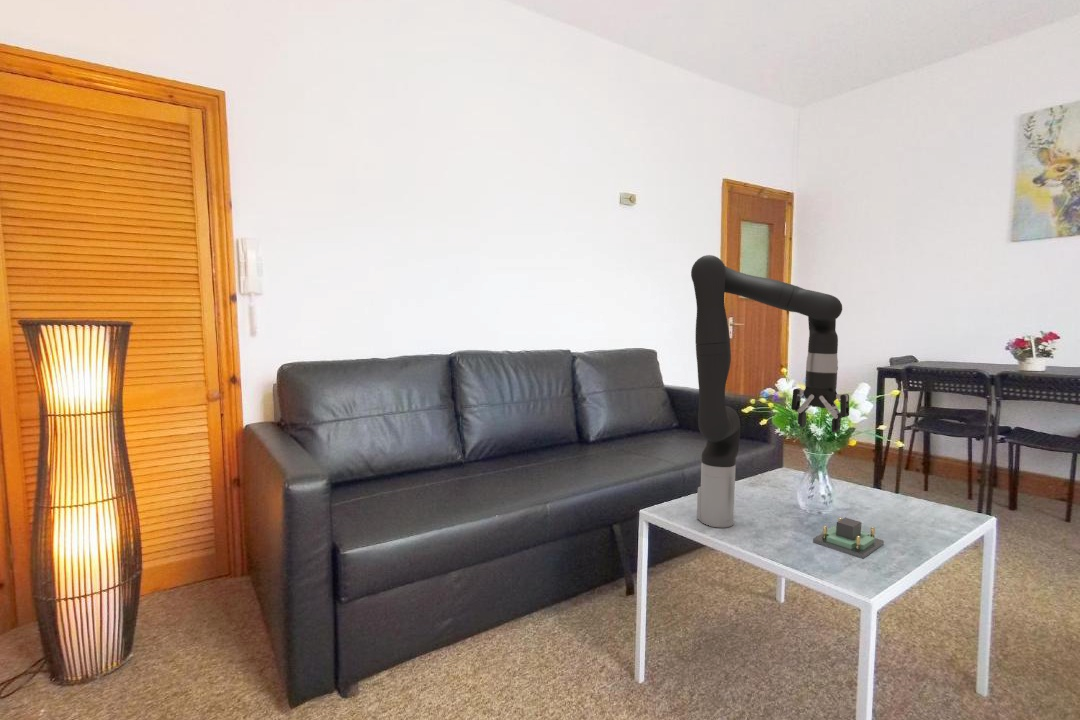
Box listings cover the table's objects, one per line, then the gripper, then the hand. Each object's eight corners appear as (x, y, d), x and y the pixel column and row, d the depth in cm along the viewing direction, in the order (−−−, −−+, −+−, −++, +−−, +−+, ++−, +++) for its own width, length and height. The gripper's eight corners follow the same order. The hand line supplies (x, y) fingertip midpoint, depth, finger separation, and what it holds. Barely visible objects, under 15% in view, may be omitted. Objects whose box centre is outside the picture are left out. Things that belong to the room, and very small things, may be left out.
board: (818, 538, 142) (819, 521, 142) (837, 528, 149) (838, 511, 149) (859, 552, 135) (861, 533, 134) (877, 540, 141) (878, 522, 141)
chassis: (812, 542, 143) (813, 525, 142) (834, 529, 151) (835, 513, 150) (862, 558, 133) (864, 540, 133) (883, 544, 142) (884, 527, 141)
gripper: (788, 368, 150) (785, 426, 152) (843, 373, 139) (839, 436, 141) (801, 366, 155) (798, 423, 157) (855, 371, 144) (852, 432, 146)
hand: (818, 429), depth 149 cm, fingers open, 8 cm apart
